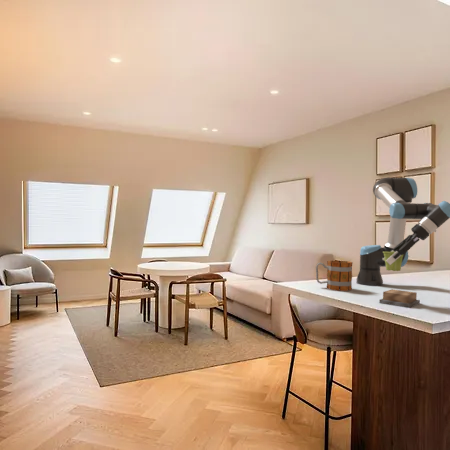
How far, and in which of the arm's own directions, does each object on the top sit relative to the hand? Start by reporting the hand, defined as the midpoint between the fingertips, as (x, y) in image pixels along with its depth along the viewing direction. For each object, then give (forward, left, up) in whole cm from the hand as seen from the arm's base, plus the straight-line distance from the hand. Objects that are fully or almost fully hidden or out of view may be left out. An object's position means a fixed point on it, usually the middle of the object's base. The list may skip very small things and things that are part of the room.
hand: (386, 261), depth 182 cm
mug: (-33, +13, -19) cm, 40 cm away
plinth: (+7, 0, -18) cm, 20 cm away
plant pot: (+3, +2, -4) cm, 5 cm away
